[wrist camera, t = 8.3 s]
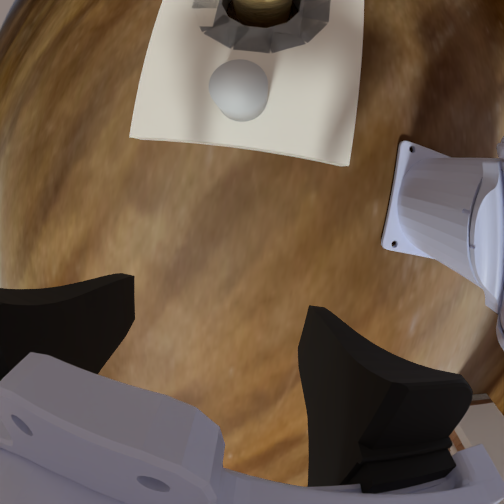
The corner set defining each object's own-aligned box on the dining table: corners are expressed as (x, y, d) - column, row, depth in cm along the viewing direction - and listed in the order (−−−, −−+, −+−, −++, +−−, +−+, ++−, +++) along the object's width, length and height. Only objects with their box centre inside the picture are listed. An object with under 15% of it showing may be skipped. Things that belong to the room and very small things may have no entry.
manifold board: (357, -12, 14) (375, -45, 9) (340, 166, 18) (364, 165, 14) (185, -31, 14) (170, -64, 9) (141, 139, 18) (106, 132, 14)
